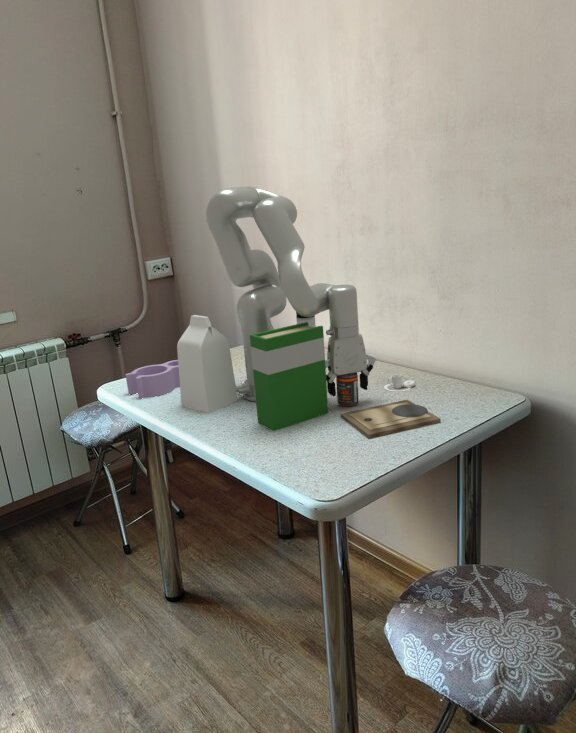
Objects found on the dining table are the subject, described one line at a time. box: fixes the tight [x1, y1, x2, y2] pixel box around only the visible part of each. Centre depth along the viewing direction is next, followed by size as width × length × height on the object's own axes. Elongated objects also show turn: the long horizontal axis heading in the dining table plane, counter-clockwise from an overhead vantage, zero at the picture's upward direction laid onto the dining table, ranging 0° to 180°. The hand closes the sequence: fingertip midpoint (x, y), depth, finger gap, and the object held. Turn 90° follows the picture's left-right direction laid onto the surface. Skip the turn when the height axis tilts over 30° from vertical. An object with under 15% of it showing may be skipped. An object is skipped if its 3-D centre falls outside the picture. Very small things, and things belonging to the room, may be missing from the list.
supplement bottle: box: [335, 372, 360, 408], centre depth 169 cm, size 6×6×11 cm
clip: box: [125, 359, 180, 400], centre depth 196 cm, size 20×12×7 cm, turn 133°
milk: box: [176, 314, 239, 414], centre depth 176 cm, size 12×12×26 cm
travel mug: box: [295, 311, 317, 327], centre depth 207 cm, size 6×7×20 cm
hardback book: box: [250, 322, 329, 432], centre depth 160 cm, size 18×7×24 cm, turn 124°
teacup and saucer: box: [383, 373, 416, 393], centre depth 180 cm, size 9×8×4 cm
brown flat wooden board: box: [340, 399, 442, 439], centre depth 157 cm, size 20×16×1 cm
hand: (348, 391), depth 170 cm, fingers open, 9 cm apart
